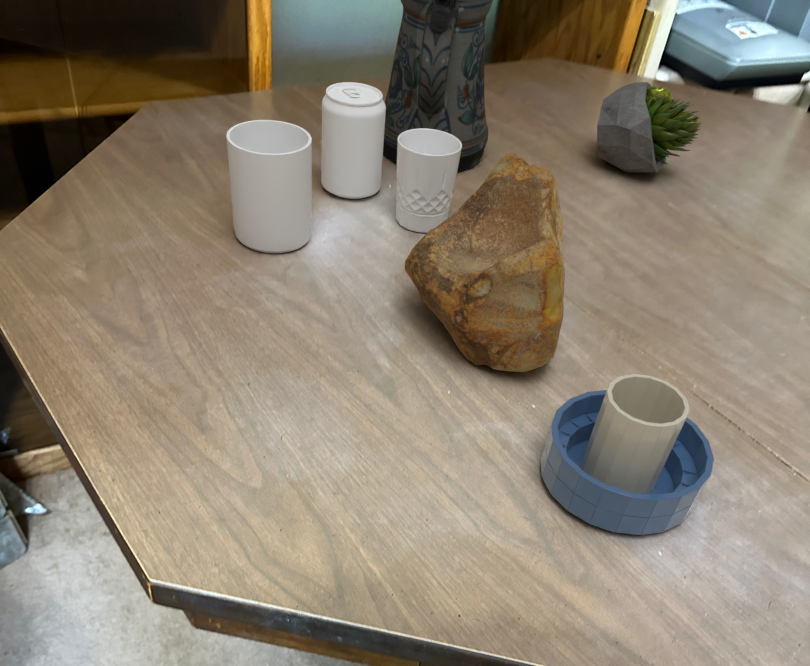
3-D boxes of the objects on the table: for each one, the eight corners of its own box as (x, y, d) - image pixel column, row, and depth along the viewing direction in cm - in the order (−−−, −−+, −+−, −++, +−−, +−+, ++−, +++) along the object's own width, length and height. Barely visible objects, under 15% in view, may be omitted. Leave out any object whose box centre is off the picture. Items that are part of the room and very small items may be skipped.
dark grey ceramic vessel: (458, 125, 123) (485, -70, 104) (511, 180, 112) (551, -29, 93) (360, 131, 118) (369, -73, 99) (404, 188, 107) (424, -30, 88)
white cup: (412, 240, 97) (420, 159, 90) (380, 212, 101) (385, 133, 94) (462, 229, 100) (474, 149, 93) (429, 202, 105) (438, 124, 97)
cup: (647, 455, 73) (681, 378, 66) (658, 507, 69) (696, 430, 62) (576, 448, 73) (603, 370, 66) (583, 499, 68) (612, 421, 62)
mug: (226, 250, 92) (217, 148, 83) (247, 204, 100) (241, 107, 91) (305, 260, 92) (304, 159, 83) (320, 213, 100) (321, 117, 91)
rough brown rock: (408, 265, 95) (408, 139, 83) (543, 269, 94) (563, 142, 83) (399, 387, 80) (398, 254, 68) (559, 392, 79) (586, 259, 68)
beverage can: (333, 205, 102) (335, 107, 93) (312, 178, 106) (312, 82, 97) (389, 198, 104) (396, 103, 95) (367, 172, 109) (371, 78, 100)
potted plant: (610, 116, 123) (710, 110, 117) (596, 193, 122) (695, 192, 116) (599, 64, 111) (709, 55, 105) (583, 149, 111) (692, 145, 105)
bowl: (677, 438, 76) (696, 398, 72) (706, 547, 67) (729, 507, 63) (535, 423, 76) (546, 382, 72) (544, 530, 66) (558, 489, 62)
